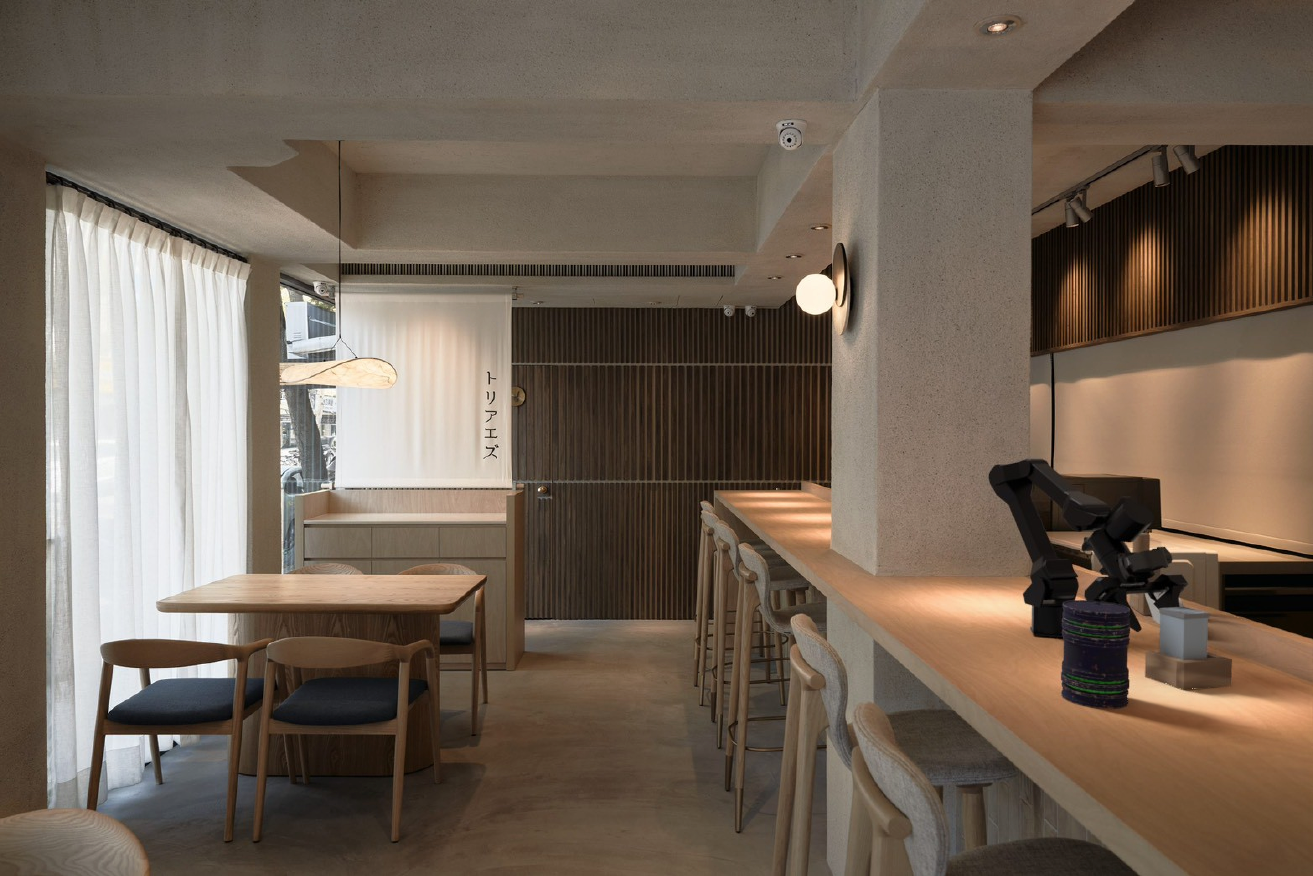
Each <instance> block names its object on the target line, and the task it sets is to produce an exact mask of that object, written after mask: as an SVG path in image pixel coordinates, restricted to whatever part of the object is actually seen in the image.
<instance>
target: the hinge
mask: <svg viewBox="0 0 1313 876" xmlns="http://www.w3.org/2000/svg"><path fill="white" fill-rule="evenodd" d="M1145 596H1146V599H1147V602H1148V605H1149V608H1150V611H1151V614H1152V616H1151V617H1152V619H1153V621H1154V622H1156V623H1157V624H1159V625H1160V613H1159V609H1158V608H1157V607H1156V606H1155V605H1154V604H1153V603H1154V602H1155V601H1154V600H1152V599H1151V598H1150V597H1149V595H1148V593H1145ZM1179 605H1180V607H1185V605H1184V603H1183V601H1182V599H1181V598H1180V597H1179Z"/></svg>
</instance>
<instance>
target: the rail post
mask: <svg viewBox="0 0 1313 876" xmlns="http://www.w3.org/2000/svg"><path fill="white" fill-rule="evenodd" d="M1159 613H1160V624H1159V653H1162V654H1165V655H1169V656H1172V657H1175V658H1178V659H1181V660H1193V659H1205V658H1207V652H1208V633H1209V631H1208V630H1209V622H1208V621H1209V618H1210V613H1209V612H1206V611H1202V610H1198V609H1194V608H1190V607H1187V606H1184V607H1171V608H1159Z"/></svg>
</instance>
